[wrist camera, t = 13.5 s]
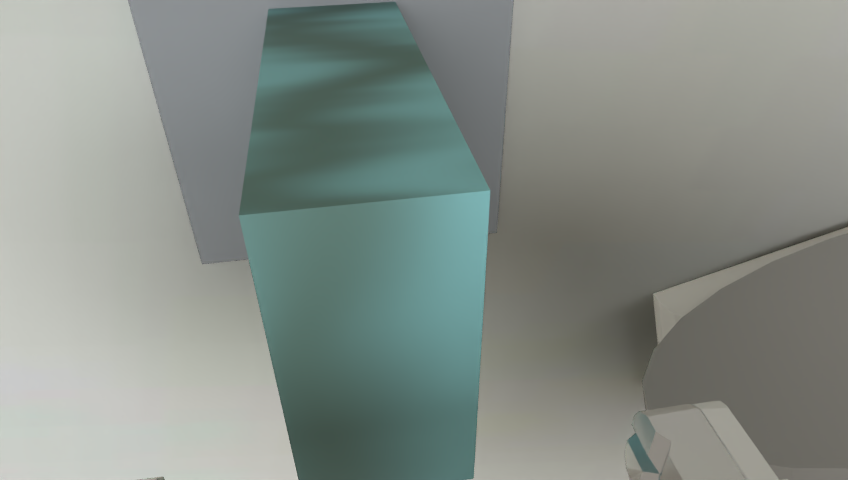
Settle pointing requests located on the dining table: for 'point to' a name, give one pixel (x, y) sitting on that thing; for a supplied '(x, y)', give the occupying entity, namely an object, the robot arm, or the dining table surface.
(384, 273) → the teal tag
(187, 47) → the slate mat
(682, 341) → the alarm clock
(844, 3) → the dining table surface
